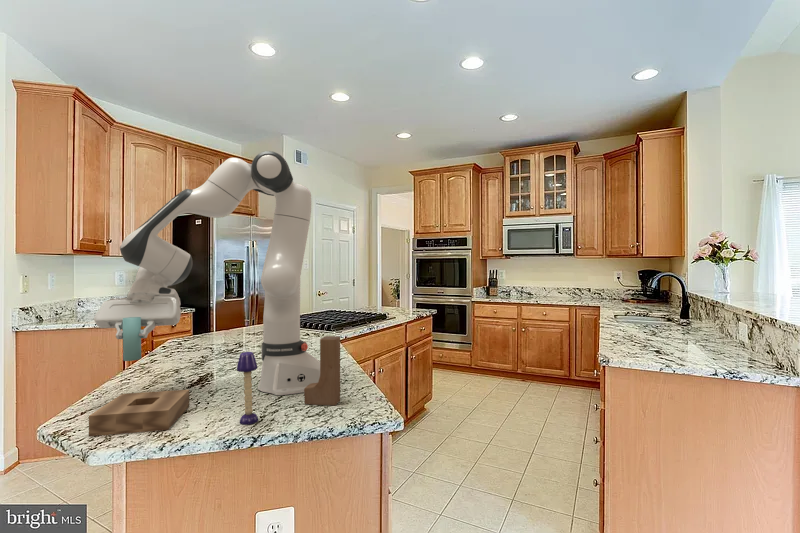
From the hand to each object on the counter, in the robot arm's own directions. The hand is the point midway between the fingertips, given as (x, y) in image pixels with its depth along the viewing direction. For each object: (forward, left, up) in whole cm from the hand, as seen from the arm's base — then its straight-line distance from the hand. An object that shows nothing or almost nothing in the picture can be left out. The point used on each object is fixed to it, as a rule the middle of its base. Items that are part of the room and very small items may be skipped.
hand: (131, 337), depth 105 cm
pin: (0, -1, -6) cm, 6 cm away
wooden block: (-49, +6, -19) cm, 53 cm away
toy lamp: (-31, +16, -19) cm, 40 cm away
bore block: (-6, +9, -19) cm, 22 cm away
